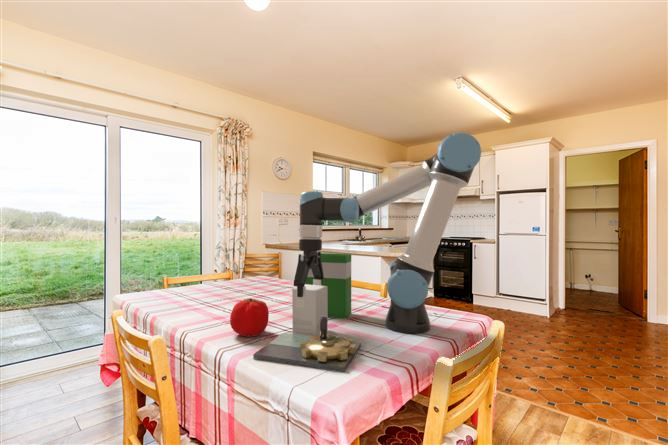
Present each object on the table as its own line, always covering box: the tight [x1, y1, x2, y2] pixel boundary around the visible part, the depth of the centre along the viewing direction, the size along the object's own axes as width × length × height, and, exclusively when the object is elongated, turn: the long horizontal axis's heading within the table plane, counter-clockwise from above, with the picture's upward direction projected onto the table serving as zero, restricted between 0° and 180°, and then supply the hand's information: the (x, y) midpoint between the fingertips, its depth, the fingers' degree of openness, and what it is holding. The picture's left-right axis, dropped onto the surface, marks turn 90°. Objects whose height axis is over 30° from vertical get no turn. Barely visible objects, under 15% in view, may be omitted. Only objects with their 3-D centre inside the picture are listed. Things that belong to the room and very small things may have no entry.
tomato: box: [229, 298, 270, 338], centre depth 105 cm, size 12×13×12 cm
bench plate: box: [253, 332, 363, 373], centre depth 90 cm, size 25×18×1 cm
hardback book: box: [305, 252, 352, 319], centre depth 129 cm, size 18×7×24 cm, turn 71°
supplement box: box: [291, 284, 329, 337], centre depth 107 cm, size 9×9×15 cm
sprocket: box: [300, 317, 356, 362], centre depth 87 cm, size 15×15×8 cm
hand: (309, 302), depth 107 cm, fingers open, 13 cm apart
